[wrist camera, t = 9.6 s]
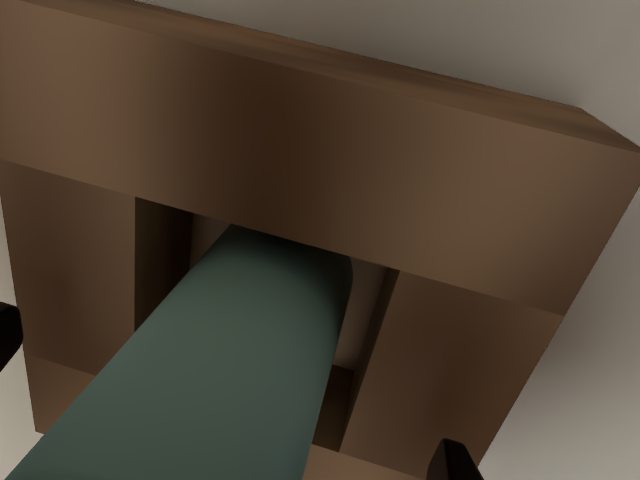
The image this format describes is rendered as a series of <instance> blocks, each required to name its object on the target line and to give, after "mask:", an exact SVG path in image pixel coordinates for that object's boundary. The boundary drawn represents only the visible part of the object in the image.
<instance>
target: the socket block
mask: <svg viewBox="0 0 640 480" xmlns="http://www.w3.org/2000/svg"><path fill="white" fill-rule="evenodd" d="M639 186H640V147H639V146H638V145H636V144H635V143H633V142H632V141H630V140H628V139H627V138H625V137H624V136H622V135H621V134H619V133H618V132H616V131H615V130H613V129H612V128H610V127H608V126H607V125H605V124H604V123H602V122H601V121H599V120H598V119H596V118H595V117H593V116H592V115H590V114H589V113H587V112H585V111H584V110H582V109H581V108H577V107H573V106H569V105H565V104H560V103H556V102H552V101H548V100H544V99H540V98H536V97H531V96H527V95H523V94H519V93H515V92H511V91H506V90H502V89H498V88H494V87H490V86H486V85H482V84H477V83H473V82H469V81H465V80H461V79H457V78H453V77H448V76H444V75H440V74H436V73H432V72H428V71H423V70H419V69H415V68H411V67H407V66H403V65H399V64H394V63H390V62H386V61H382V60H378V59H374V58H369V57H365V56H361V55H357V54H353V53H349V52H345V51H340V50H336V49H332V48H328V47H324V46H320V45H316V44H311V43H307V42H303V41H299V40H295V39H291V38H286V37H282V36H278V35H274V34H270V33H266V32H262V31H257V30H253V29H249V28H245V27H241V26H237V25H233V24H228V23H224V22H220V21H216V20H212V19H208V18H203V17H199V16H195V15H191V14H187V13H183V12H179V11H174V10H170V9H166V8H162V7H158V6H154V5H149V4H145V3H141V2H137V1H133V0H0V196H1V203H2V210H3V217H4V223H5V230H6V237H7V243H8V250H9V257H10V263H11V270H12V277H13V284H14V290H15V297H16V304H17V307H18V309H19V310H20V314H21V320H22V327H23V334H24V338H23V342H22V344H23V351H24V357H25V364H26V371H27V377H28V384H29V391H30V398H31V404H32V411H33V418H34V424H35V431H36V432H39V433H42V434H45V433H46V432H47V431H48V430H49V429H50V428H51V427H52V425H53V424H54V423H55V422H56V421H57V420H58V419H59V418H60V416H61V415H62V414H63V413H64V412H65V411H66V410H67V409H68V407H69V406H70V405H71V404H72V403H73V402H74V401H75V399H76V398H77V397H78V396H79V395H80V394H81V393H82V392H83V390H84V389H85V388H86V387H87V386H88V385H89V384H90V383H91V381H92V380H93V379H94V378H95V377H96V376H97V375H98V373H99V372H100V371H101V370H102V369H103V368H104V367H105V366H106V364H107V363H108V362H109V361H110V360H111V359H112V358H113V357H114V355H115V354H116V353H117V352H118V351H119V350H120V349H121V347H122V346H123V345H124V344H125V343H126V342H127V341H128V340H129V338H130V337H131V336H132V335H133V334H134V333H135V332H136V331H137V329H138V328H139V327H140V326H141V325H142V324H143V323H144V321H145V320H146V319H147V318H148V317H149V316H150V315H151V314H152V312H153V311H154V310H155V309H156V308H157V307H158V306H159V305H160V303H161V302H162V301H163V300H164V299H165V298H166V297H167V296H168V294H169V293H170V292H171V291H172V290H173V289H174V288H175V286H176V285H177V284H178V283H179V282H180V281H181V280H182V279H183V277H184V276H185V275H186V274H187V273H188V272H189V271H190V270H191V268H192V267H193V266H194V265H195V264H196V263H197V262H198V260H199V259H200V258H201V257H202V256H203V255H204V254H205V253H206V251H207V250H208V249H209V248H210V247H211V246H212V245H213V244H214V242H215V241H216V240H217V239H218V238H219V237H220V236H221V234H222V233H223V232H224V231H225V230H226V229H227V228H228V227H229V225H230V224H231V223H232V224H236V225H239V226H243V227H246V228H250V229H253V230H257V231H261V232H264V233H268V234H271V235H275V236H279V237H282V238H286V239H289V240H293V241H296V242H300V243H304V244H307V245H311V246H314V247H318V248H322V249H325V250H329V251H332V252H336V253H340V254H343V255H347V256H349V257H350V260H351V264H352V268H353V285H352V290H351V294H350V297H349V301H348V305H347V309H346V313H345V317H344V321H343V324H342V328H341V332H340V336H339V340H338V344H337V347H336V351H335V355H334V359H333V363H332V367H331V371H330V374H329V378H328V382H327V386H326V390H325V394H324V397H323V401H322V405H321V409H320V413H319V417H318V421H317V424H316V428H315V432H314V436H313V440H312V444H311V447H310V451H309V455H308V459H307V463H306V467H305V470H304V474H303V478H302V480H426V475H427V470H428V466H429V463H430V461H431V459H432V457H433V455H434V453H435V451H436V449H437V447H438V445H439V443H440V441H441V440H442V439H443V438H448V439H451V440H454V441H458V442H461V443H463V444H464V445H465V446H466V448H467V449H468V451H469V453H470V455H471V457H472V459H473V460H474V462H475V464H476V466H477V467H478V465H479V463H480V462H481V460H482V458H483V456H484V455H485V453H486V451H487V449H488V448H489V446H490V444H491V443H492V441H493V439H494V437H495V436H496V434H497V432H498V430H499V429H500V427H501V425H502V423H503V422H504V420H505V418H506V417H507V415H508V413H509V411H510V410H511V408H512V406H513V404H514V403H515V401H516V399H517V398H518V396H519V394H520V392H521V391H522V389H523V387H524V385H525V384H526V382H527V380H528V378H529V377H530V375H531V373H532V372H533V370H534V368H535V366H536V365H537V363H538V361H539V359H540V358H541V356H542V354H543V353H544V351H545V349H546V347H547V346H548V344H549V342H550V340H551V339H552V337H553V335H554V334H555V332H556V330H557V328H558V327H559V325H560V323H561V321H562V320H563V318H564V316H565V314H566V313H567V311H568V309H569V308H570V306H571V304H572V302H573V301H574V299H575V297H576V295H577V294H578V292H579V290H580V289H581V287H582V285H583V283H584V282H585V280H586V278H587V276H588V275H589V273H590V271H591V269H592V268H593V266H594V264H595V263H596V261H597V259H598V257H599V256H600V254H601V252H602V250H603V249H604V247H605V245H606V244H607V242H608V240H609V238H610V237H611V235H612V233H613V231H614V230H615V228H616V226H617V224H618V223H619V221H620V219H621V218H622V216H623V214H624V212H625V211H626V209H627V207H628V205H629V204H630V202H631V200H632V199H633V197H634V195H635V193H636V192H637V190H638V188H639Z"/></svg>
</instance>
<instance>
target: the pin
mask: <svg viewBox="0 0 640 480" xmlns="http://www.w3.org/2000/svg"><path fill="white" fill-rule="evenodd" d="M352 285H353V268H352V264H351V260H350V257H349V256H347V255H343V254H340V253H336V252H332V251H329V250H325V249H322V248H318V247H314V246H311V245H307V244H304V243H300V242H296V241H293V240H289V239H286V238H282V237H279V236H275V235H271V234H268V233H264V232H261V231H257V230H253V229H250V228H246V227H243V226H239V225H236V224H232V223H231V224H230V225H229V227H228V228H227V229H226V230H225V231H224V232H223V233H222V234H221V236H220V237H219V238H218V239H217V240H216V241H215V242H214V244H213V245H212V246H211V247H210V248H209V249H208V250H207V251H206V253H205V254H204V255H203V256H202V257H201V258H200V259H199V260H198V262H197V263H196V264H195V265H194V266H193V267H192V268H191V270H190V271H189V272H188V273H187V274H186V275H185V276H184V277H183V279H182V280H181V281H180V282H179V283H178V284H177V285H176V286H175V288H174V289H173V290H172V291H171V292H170V293H169V294H168V296H167V297H166V298H165V299H164V300H163V301H162V302H161V303H160V305H159V306H158V307H157V308H156V309H155V310H154V311H153V312H152V314H151V315H150V316H149V317H148V318H147V319H146V320H145V321H144V323H143V324H142V325H141V326H140V327H139V328H138V329H137V331H136V332H135V333H134V334H133V335H132V336H131V337H130V338H129V340H128V341H127V342H126V343H125V344H124V345H123V346H122V347H121V349H120V350H119V351H118V352H117V353H116V354H115V355H114V357H113V358H112V359H111V360H110V361H109V362H108V363H107V364H106V366H105V367H104V368H103V369H102V370H101V371H100V372H99V373H98V375H97V376H96V377H95V378H94V379H93V380H92V381H91V383H90V384H89V385H88V386H87V387H86V388H85V389H84V390H83V392H82V393H81V394H80V395H79V396H78V397H77V398H76V399H75V401H74V402H73V403H72V404H71V405H70V406H69V407H68V409H67V410H66V411H65V412H64V413H63V414H62V415H61V416H60V418H59V419H58V420H57V421H56V422H55V423H54V424H53V425H52V427H51V428H50V429H49V430H48V431H47V432H46V433H45V434H44V436H43V437H42V438H41V439H40V440H39V441H38V442H37V444H36V445H35V446H34V447H33V448H32V449H31V450H30V451H29V453H28V454H27V455H26V456H25V457H24V458H23V459H22V460H21V462H20V463H19V464H18V465H17V466H16V467H15V468H14V470H13V471H12V472H11V473H10V474H9V475H8V476H7V477H6V479H5V480H302V478H303V474H304V470H305V467H306V463H307V459H308V455H309V451H310V447H311V444H312V440H313V436H314V432H315V428H316V424H317V421H318V417H319V413H320V409H321V405H322V401H323V397H324V394H325V390H326V386H327V382H328V378H329V374H330V371H331V367H332V363H333V359H334V355H335V351H336V347H337V344H338V340H339V336H340V332H341V328H342V324H343V321H344V317H345V313H346V309H347V305H348V301H349V297H350V294H351V290H352Z"/></svg>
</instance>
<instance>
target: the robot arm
mask: <svg viewBox="0 0 640 480" xmlns="http://www.w3.org/2000/svg"><path fill="white" fill-rule="evenodd" d="M23 338H24V334H23V327H22V320H21V314H20V310H19V309H18V307H16V306H13V305H10V304H7V303H3V302H0V372H1V371H2V369H3V368H4V367H5V366H6V364H7V363H8V362H9V361H10V359H11V358H12V357H13V356H14V354H15V353H16V352H17V350H18V349H19V348H20V346H21V344H22V342H23ZM426 480H484V479H483V477H482V475H481V473H480V471H479V470H478V468H477V466H476V464H475V462H474V460H473V459H472V457H471V455H470V453H469V451H468V449H467V448H466V446H465V445H464V444H463V443H461V442H458V441H454V440H451V439H448V438H443V439H442V440H441V441H440V443H439V445H438V447H437V449H436V451H435V453H434V455H433V457H432V459H431V461H430V463H429V466H428V470H427V475H426Z"/></svg>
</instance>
